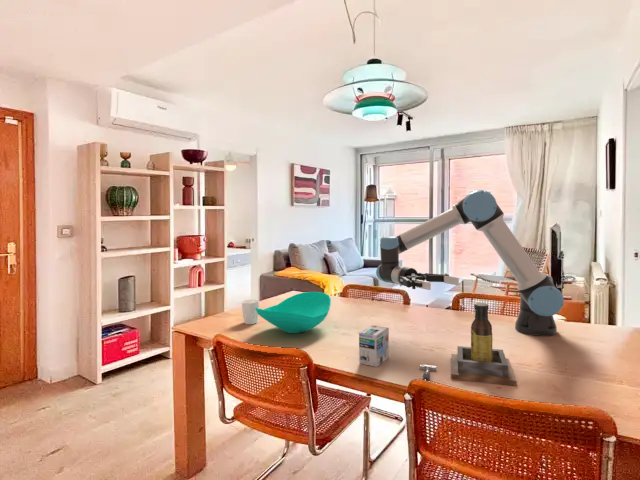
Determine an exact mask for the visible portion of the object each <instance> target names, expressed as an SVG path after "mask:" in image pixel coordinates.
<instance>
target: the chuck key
mask: <svg viewBox="0 0 640 480" xmlns="http://www.w3.org/2000/svg"><path fill="white" fill-rule="evenodd" d="M419 370H420V371H424V372H423V374H422V379H423V380H424V379H426V380H428V381H429V380H430V378H431V374H430V372H437V365H430V364H429V365H427V364H420V365H419Z"/></svg>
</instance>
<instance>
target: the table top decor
mask: <svg viewBox="0 0 640 480" xmlns="http://www.w3.org/2000/svg"><path fill="white" fill-rule="evenodd" d="M331 303H332V299H331V297H330V295H329V294H327V293H326V292H321V291H306V292H304V291H303V292H301V293H296V294H294V295H292V296H289V297H288V298H286V299H284V300H282V301H281V302H279V303H278V304H274V305H272V306H268V307H266V308H264V309H263V308H261V307H259V308H256V311H257V313H258V314H259V317H261V318H262V319H263V320H265V321H267V323H268V322H269V323H270V324H271V325H273V326H274V327H276V328H278V329H279V330H282V331H283V332H285V333H288V334H299V333H304V332H306V331H309V330H311V329H314V328H315V327H318V325H320V324H321V323H322V322H324V321H325V319H326V317H327V316H328V315H329V314H328V313H329V311H330V309H331V305H332V304H331Z"/></svg>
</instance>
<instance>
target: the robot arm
mask: <svg viewBox="0 0 640 480" xmlns="http://www.w3.org/2000/svg"><path fill="white" fill-rule="evenodd" d="M496 200H497V199H496V198H495V196H494V194H492V193H491V192H489V191H487V190H484V189H483V190H482V189H476V190H474V191H471V192H469V193H468V194H467V195H466V196H465V197H464V198H462V199H461V200H459V201H458V202H456V203H454V204H453V206H452V207H451V208H450V209H447V210H446V211H444V212H442V213H440V214H437V215H436V216H434V217H432V218H430V219H428V220H426V221H424V222H422V223H421V224H419V225H416V226H414V227H412V228H411V229H409V230H406V231H405V232H402V233H400V234H399V235H397V236H393V235H392V236H381V237H380V244H379V246H380V264H379V265H378V266H377V268H376V271H375V274H376V277H377V278H378V280H380V281H382V282H385V283H389V284H395V285H399V286H400V287H403V286H404V287H407V288H411V289H412V290H416V288H419V289H423V290H428V291H430V290H432V289H431V288H432V287H431V285H432V282H433V283H444V284H447V285H448V284H449V285H453V286H460V283H459V280H460V278H459V277H457V276H450V275H449V274H448V273H446V272H445V273H444V274H442V273H441V274H438V273H427V272H425V273H422V272H418V271H417V270H416V268H413V267H408V266H403V265H400V260H399V257H400V254H403V253H404V252H407V251H408V250H410V249H412V248H414V247H416V246H418V245H420V244H422V243H425V242H426V241H428V240H430V239H432V238H434V237H437V236H438V235H441V234H442V233H445V232H447V231H449V230H451V229H453V228H455V227H457V226H459V225H461V224H462V225H466V224H468V223H471V224H472V225H473V227H474V228H475V230H476V231H479V232H482V233H483V235H484V236H485V237H486V239H487V241H488V242H489V243H490V245H491V246H492V247H493V249H494V250H495V252H496V253H497V255H498V256H499V257H500V259H501V260H502V262H503V264H504V265H505V266H506V268H507V269H508V270H509V272H510V273H511V275H512V276H513V277H514V279H515V281H516V282H517V290H518V292H519V294H520V302H519V304H520V307H519V313H518V315H517V318H516V321H515V325H514V326H515V330H516V331H517V332H520V333H523V334H526V335H532V336H539V337H540V336H542V337H544V336H546V337H547V336H554V335H556V334H557V333H558V330H557V325H556V321H555V319H554V315H556V314H558V313H559V312H560V311H561V310H562V309H563V307H564V304H565V301H564V300H565V298H564V296H563V293H562V291H561V290H560V289H558V288H557V287H556V286H555V284H554V280H553V277H552V276H550V275H548V274H547V273H546V272H541V271H539V269H538V268H537V266H536V265H535V263H534V262H533V261H532V259H531V258H530V256H529V254H528V253H527V252H526V251H525V249H524V248H523V246H522V244H520V242H519V240H518V239H517V238H516V236H515V234H513V232H512V231H511V228H510V227H509V226H508V225H507V223H506V222H505V221H504V215H505V213H504V211H503V210H502V209H501V207H500V206H499V205H498V203H497V201H496Z"/></svg>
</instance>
